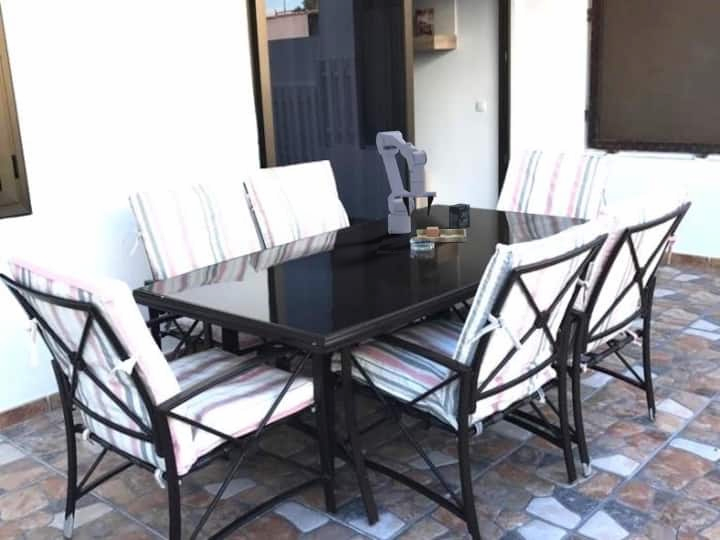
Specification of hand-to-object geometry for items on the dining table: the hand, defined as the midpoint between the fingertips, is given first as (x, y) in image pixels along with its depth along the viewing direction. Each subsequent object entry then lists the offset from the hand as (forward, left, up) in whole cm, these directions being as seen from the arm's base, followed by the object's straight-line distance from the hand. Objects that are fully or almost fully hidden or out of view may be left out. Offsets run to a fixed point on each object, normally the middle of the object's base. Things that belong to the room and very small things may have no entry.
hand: (418, 215), depth 295 cm
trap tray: (+8, 0, -10) cm, 13 cm away
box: (+16, +22, -11) cm, 29 cm away
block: (+5, 0, -9) cm, 11 cm away
